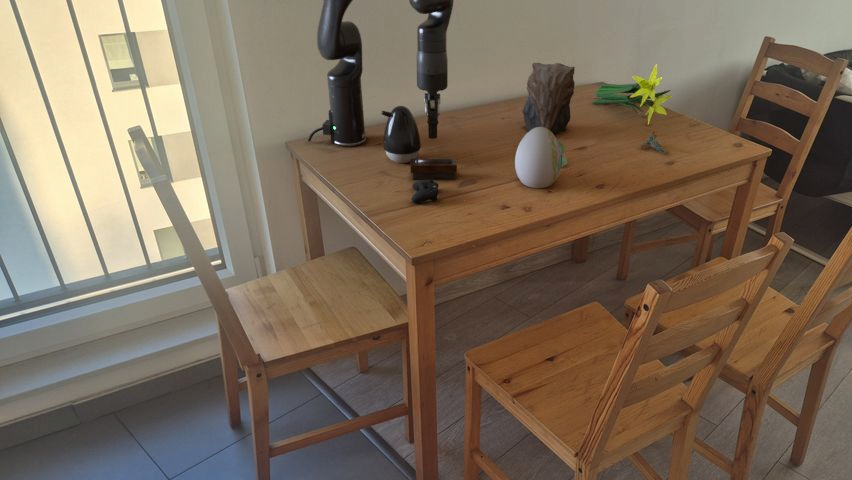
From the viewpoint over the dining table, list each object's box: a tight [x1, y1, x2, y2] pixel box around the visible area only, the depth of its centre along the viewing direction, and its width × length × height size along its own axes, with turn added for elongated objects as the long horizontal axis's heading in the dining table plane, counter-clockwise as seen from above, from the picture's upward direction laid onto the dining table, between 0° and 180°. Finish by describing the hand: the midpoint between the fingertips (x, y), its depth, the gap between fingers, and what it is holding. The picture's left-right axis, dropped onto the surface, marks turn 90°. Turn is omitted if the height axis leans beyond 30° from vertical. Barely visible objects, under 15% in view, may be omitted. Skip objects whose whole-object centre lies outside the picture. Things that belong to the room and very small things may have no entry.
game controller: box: [410, 179, 440, 204], centre depth 169 cm, size 10×5×6 cm
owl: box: [522, 62, 576, 137], centre depth 209 cm, size 13×13×20 cm
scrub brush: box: [410, 157, 458, 181], centre depth 179 cm, size 12×4×5 cm, turn 95°
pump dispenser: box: [380, 105, 422, 164], centre depth 185 cm, size 10×10×15 cm
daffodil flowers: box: [592, 63, 674, 125], centre depth 225 cm, size 17×15×35 cm
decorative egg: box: [514, 127, 563, 189], centre depth 176 cm, size 12×12×15 cm
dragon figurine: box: [639, 129, 667, 155], centre depth 202 cm, size 7×7×8 cm
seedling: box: [558, 141, 568, 167], centre depth 192 cm, size 7×8×7 cm
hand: (432, 132), depth 174 cm, fingers open, 8 cm apart
